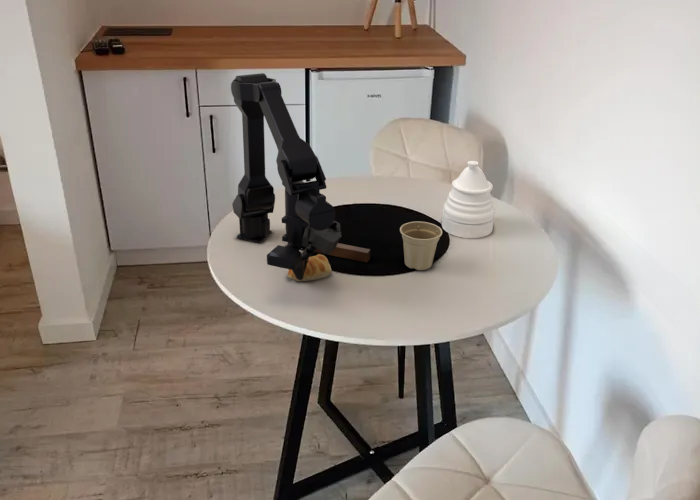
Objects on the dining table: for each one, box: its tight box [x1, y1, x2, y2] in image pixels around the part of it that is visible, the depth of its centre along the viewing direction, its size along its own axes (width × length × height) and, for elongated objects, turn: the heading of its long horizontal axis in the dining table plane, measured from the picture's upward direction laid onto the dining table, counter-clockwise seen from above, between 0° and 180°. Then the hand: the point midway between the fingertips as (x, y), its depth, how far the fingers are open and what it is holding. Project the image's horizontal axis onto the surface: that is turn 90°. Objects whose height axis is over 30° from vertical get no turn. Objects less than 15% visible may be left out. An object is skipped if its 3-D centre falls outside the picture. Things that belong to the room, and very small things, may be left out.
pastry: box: [287, 253, 332, 282], centre depth 149 cm, size 9×7×4 cm
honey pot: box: [441, 160, 496, 239], centre depth 169 cm, size 13×13×18 cm
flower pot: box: [399, 220, 443, 271], centre depth 153 cm, size 9×9×9 cm
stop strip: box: [314, 242, 371, 263], centre depth 158 cm, size 20×2×2 cm, turn 69°
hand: (300, 279), depth 145 cm, fingers closed
